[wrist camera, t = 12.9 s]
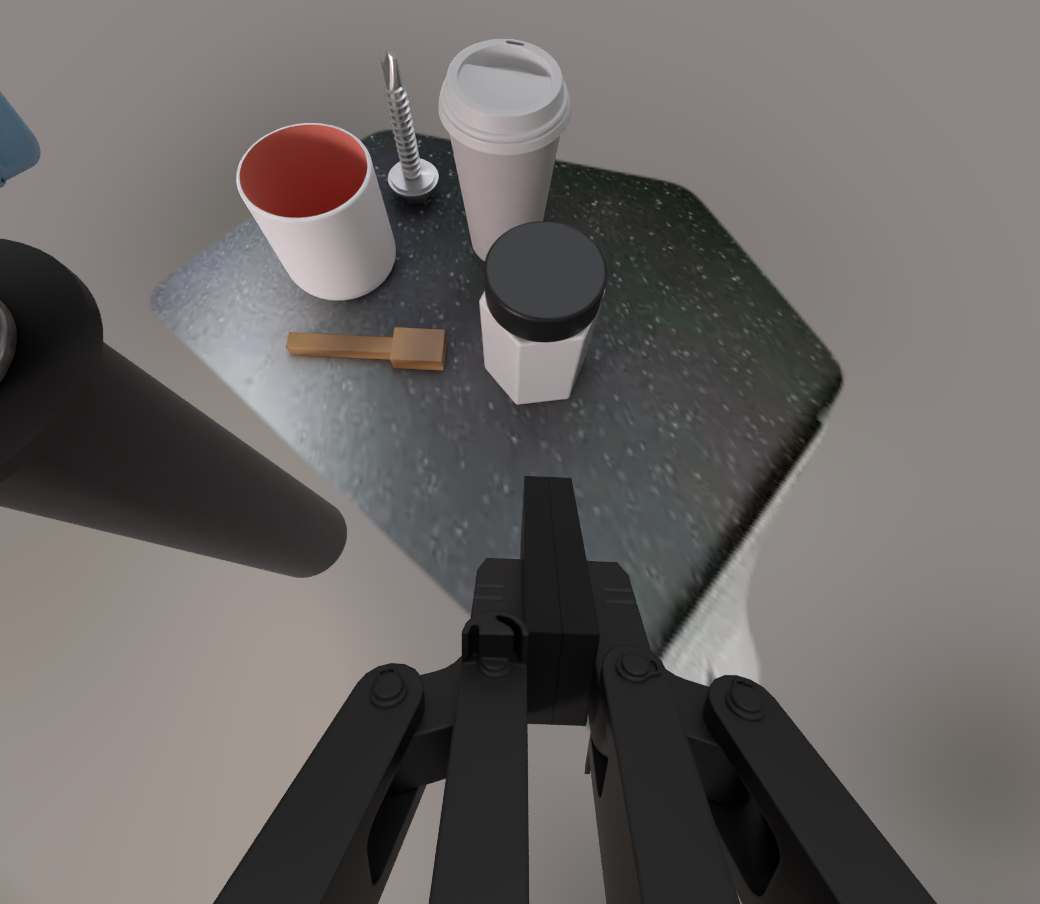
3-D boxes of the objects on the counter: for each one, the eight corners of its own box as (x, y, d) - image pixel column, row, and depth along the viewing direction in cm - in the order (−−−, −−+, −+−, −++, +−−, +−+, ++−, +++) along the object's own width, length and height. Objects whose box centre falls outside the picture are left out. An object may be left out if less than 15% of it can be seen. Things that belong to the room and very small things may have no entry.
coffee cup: (572, 231, 48) (600, 66, 34) (518, 297, 45) (524, 147, 31) (492, 188, 50) (487, 14, 36) (436, 250, 47) (405, 86, 33)
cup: (332, 326, 44) (284, 243, 34) (270, 259, 46) (209, 164, 37) (420, 266, 46) (398, 174, 37) (357, 205, 48) (321, 103, 39)
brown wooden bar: (289, 363, 42) (281, 354, 41) (296, 331, 43) (289, 321, 42) (443, 370, 42) (441, 361, 41) (447, 339, 43) (445, 329, 42)
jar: (577, 318, 45) (601, 213, 33) (594, 398, 42) (626, 312, 31) (479, 328, 44) (470, 224, 33) (490, 410, 41) (484, 327, 30)
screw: (383, 202, 49) (409, 170, 50) (425, 220, 48) (450, 188, 50) (342, 59, 36) (378, 23, 38) (397, 81, 36) (431, 43, 37)
